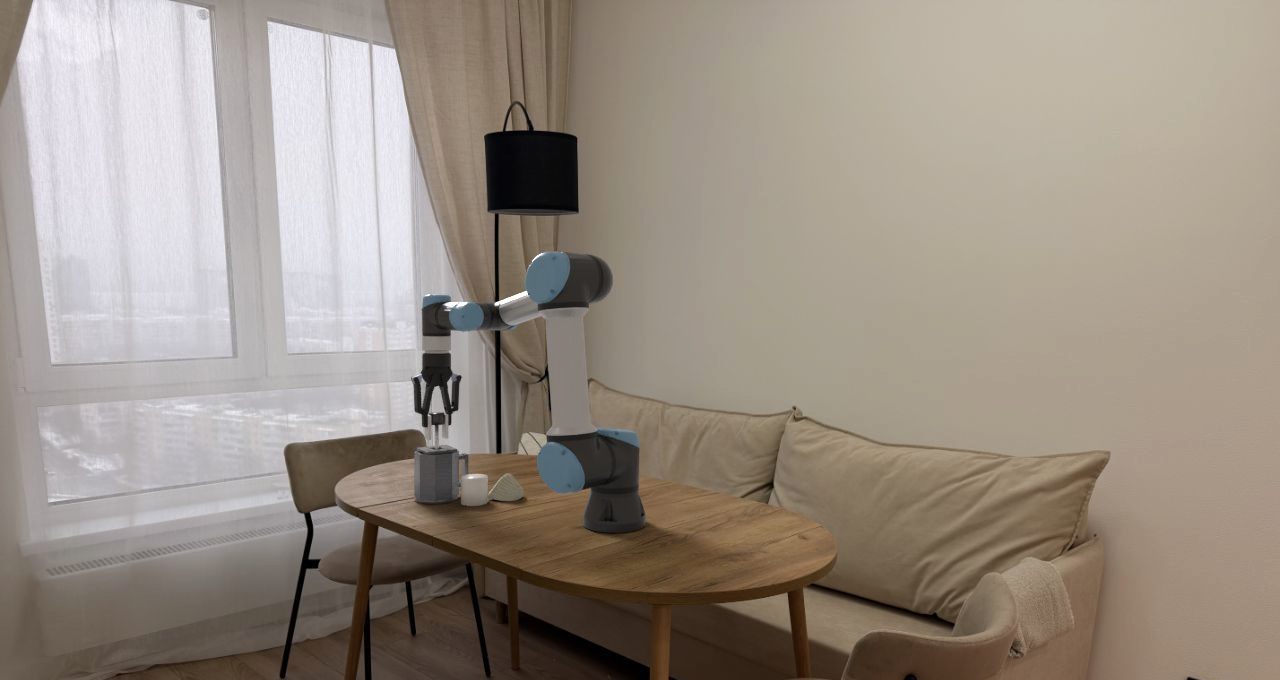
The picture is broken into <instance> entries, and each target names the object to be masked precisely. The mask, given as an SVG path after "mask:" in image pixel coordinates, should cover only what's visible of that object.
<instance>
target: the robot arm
mask: <svg viewBox="0 0 1280 680" xmlns="http://www.w3.org/2000/svg"><path fill="white" fill-rule="evenodd" d="M613 286H614V275H613V272H612V269H611V267H610V266H609V264H608V263H607V262H606V261H605V260H604V259H603V258H601V257H599V256H597V255H594V254H589V253H588V254H587V253H585V254H584V253H575V252H568V251H561V250H559V251H558V250H557V251H556V250H555V251H544V252H541V253H539V254H537V255H536V256H535V257H534V258H533V259H532V261H531V263H530V264H529V265H528V267H527V270H526V274H525V278H524V289H525V291H523V292H520V293H517V294H514V295H512V296H509V297H507V298H505V299H501V300H498V301H495V302H480V301H479V302H475V301H473V302H472V301H454V302H453V301H452V299H451V298H452V297H451V296H450V295H449V294H426V295H423V298H422V302H421V303H422V305H421V307H422V308H421V333H422V338H421V340H422V341H421V342H422V344H421V345H422V346H421V347H422V348H421V350H422V351H423V353H422V354H421V356H422V357H421V359H422V360H421V361H422V362H421V371H420V374H418V375H415V376H414V375H413V376H411V378H410V380H411V383H412V385H413V403H414V404H413V405H414V407H413V408H414V412H415V413H416V414H419V415H421V427H423V428H425V429H424V438H425V440H428V441H432V425H431V415H429V413H430V408H431V403H432V399H433V393H434V390H435V387H439V388H438V389H439V390H440V394H441V399H442V400H441V401H442V404H443V409H444V424H443V425H441V437H442V438H443V439H446V440H447V439H449V426H452V416H453V414H454V413H455V412H458V411H459V405H460V404H459V402H460V401H459V400H460V383H461V381H462V378H463V377H462V375H461V374H456V373H454V372H453V370H452V354H451V352H450V351H451V350H452V331H454V332H455V331H458V332H463V333H464V332H472V331H473V332H474V331H475V332H476V331H477V332H479V331H502V332H503V331H504V332H506V331H509V330H515V329H517V327H519V325H520V324H523V323H525V322H528V321H531V320H534V319H537V318H540V317H541V318H543V320H544V321H545V323H544V324H545V337H546V350H547V363H548V364H547V365H548V380H549V393H550V394H549V395H550V408H551V420H552V421H551V424H552V425H551V426H550V428H549V429H548V430H547V432H546V443H545V444H544V445H543V446H541V447H540V449H539V452H538V453H537V458H536V465H537V470H538V473H539V477H540V478H541V480H542V482H543V483H544V484H546V486H547V488H548V489H550V491H553V492H555V493H557V494H561V495H564V494H570V493H573V494H576V493H578V492H581V491H583V490H585V491H586V490H588V489H589V490H590V491H589V495H588V498H587V502H586V505H585V508H584V512H583V514H582V526H583V527H584V528H585V529H587V530H590V531H594V532H599V533H609V534H610V533H613V534H614V533H615V534H617V533H629V532H635V531H639V530H641V529H643V528H645V527H646V525H647V524H646V523H647V520H646V519H647V516H646V512H645V508H644V504H643V501H642V498H641V495H640V490H639V489H640V487H639V486H640V450H641V447H640V437H639V435H638V433H637V432H635V431H634V430H630V429H629V430H628V429H622V428H612V427H596V426H595V425H593V424H592V422H591V415H590V400H589V398H590V397H589V386H588V385H589V384H588V370H587V369H588V367H587V356H586V342H585V341H586V340H585V327H584V317H585V315H586V314H587V313H588V312H589V310H590V305H593V304H597V303H599V302H602V301H604V299H605V298H607V296H609V294H610V293H611V291H612V288H613ZM422 379H423V380H424V383H425V390H424V391H425V392H424V396H423V401H422ZM450 379H451V398H450V395H449V386H448V382H449V380H450Z"/></svg>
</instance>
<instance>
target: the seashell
mask: <svg viewBox="0 0 1280 680" xmlns="http://www.w3.org/2000/svg"><path fill="white" fill-rule="evenodd" d="M524 495H525V491H524V488H523V486H521V484H520V483H519V481H518V480H517V479H516V478H515V477H514V476H513V475H512V474H511V473H505V474H504V475H502V476H501V477H500V478H499V479H498V480H497V481H496V483H495V485H494V486H493V487H492V488H491V490H489V491H488V499H491V500H494V501H495V500H496V501H501V502H514V501H518V500H520V499H522V498H523V497H524Z"/></svg>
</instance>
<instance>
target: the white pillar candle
mask: <svg viewBox="0 0 1280 680" xmlns="http://www.w3.org/2000/svg"><path fill="white" fill-rule="evenodd" d="M488 479H489V477H488V475H487V474H483V473H468V475H463V476H462V475H461V476H460V482H461V487H460V504H461V505H462V506H465V505H466V506H467V507H478V506H485V505H487V503H488V499H489V498H488V494H489V491H488V484H489V482H488ZM488 504H489V503H488Z"/></svg>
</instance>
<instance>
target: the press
mask: <svg viewBox="0 0 1280 680" xmlns="http://www.w3.org/2000/svg"><path fill="white" fill-rule="evenodd" d="M435 454H438V455H435ZM413 456H414V462H413V463H414V465H413V466H414V467H413V468H414V490H413V492H414V495H413V496H414V497H415V498H414V499H415V502H416V503H418V504H424V505H440V504H441V505H443V504H448V503H453V502H455V501H457V500H458V499H459V495H460V488H461V481H460V461H461V476H463V475H468V474H469V454H468V453H466V452H464V453H463V452H462V453H461V454H460V450H459V449H458V448H455V447H453V446H451V445H449V444H442V445H440V444H439V449H435V445H429V446H427V445H426V446H421V447H418V446H417V447H416V450H415V451H414V455H413Z"/></svg>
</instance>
